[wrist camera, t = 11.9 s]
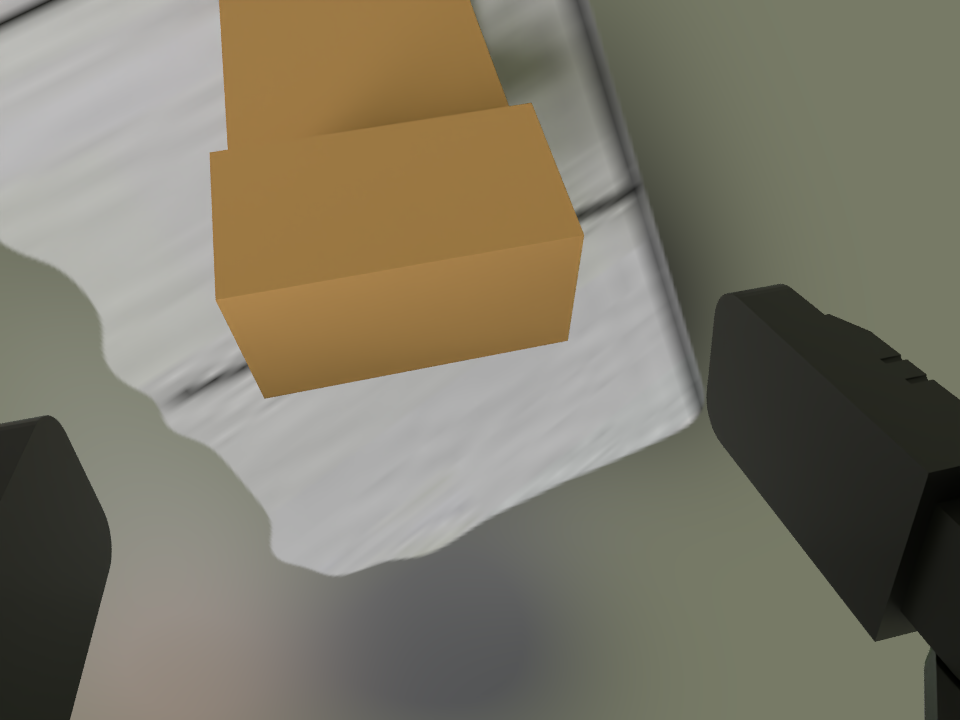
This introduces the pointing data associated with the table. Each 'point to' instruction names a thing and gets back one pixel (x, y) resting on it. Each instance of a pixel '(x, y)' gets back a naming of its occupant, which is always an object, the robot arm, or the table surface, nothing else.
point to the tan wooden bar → (380, 195)
